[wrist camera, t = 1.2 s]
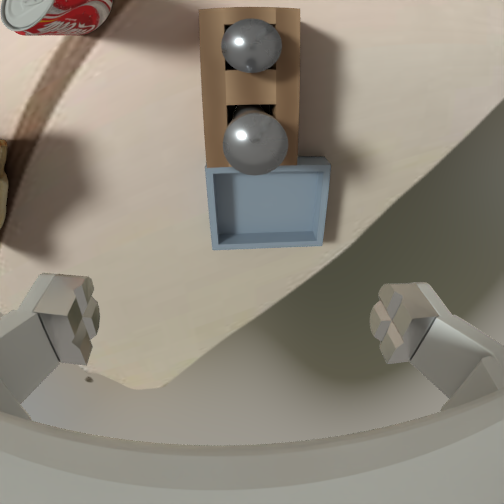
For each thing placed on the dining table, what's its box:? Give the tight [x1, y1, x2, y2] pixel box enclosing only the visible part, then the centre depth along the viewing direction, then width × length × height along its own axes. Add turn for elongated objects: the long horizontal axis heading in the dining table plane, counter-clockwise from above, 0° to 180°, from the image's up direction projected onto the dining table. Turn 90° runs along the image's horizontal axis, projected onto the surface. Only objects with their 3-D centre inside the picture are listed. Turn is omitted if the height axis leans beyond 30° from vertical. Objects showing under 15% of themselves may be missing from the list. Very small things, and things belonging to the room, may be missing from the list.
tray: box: [205, 156, 331, 250], centre depth 38 cm, size 14×11×3 cm
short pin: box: [221, 19, 282, 73], centre depth 25 cm, size 5×5×8 cm
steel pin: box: [223, 104, 288, 175], centre depth 28 cm, size 5×5×12 cm
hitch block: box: [199, 7, 300, 168], centre depth 29 cm, size 9×16×6 cm, turn 1°
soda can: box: [0, 0, 113, 36], centre depth 18 cm, size 7×7×13 cm
